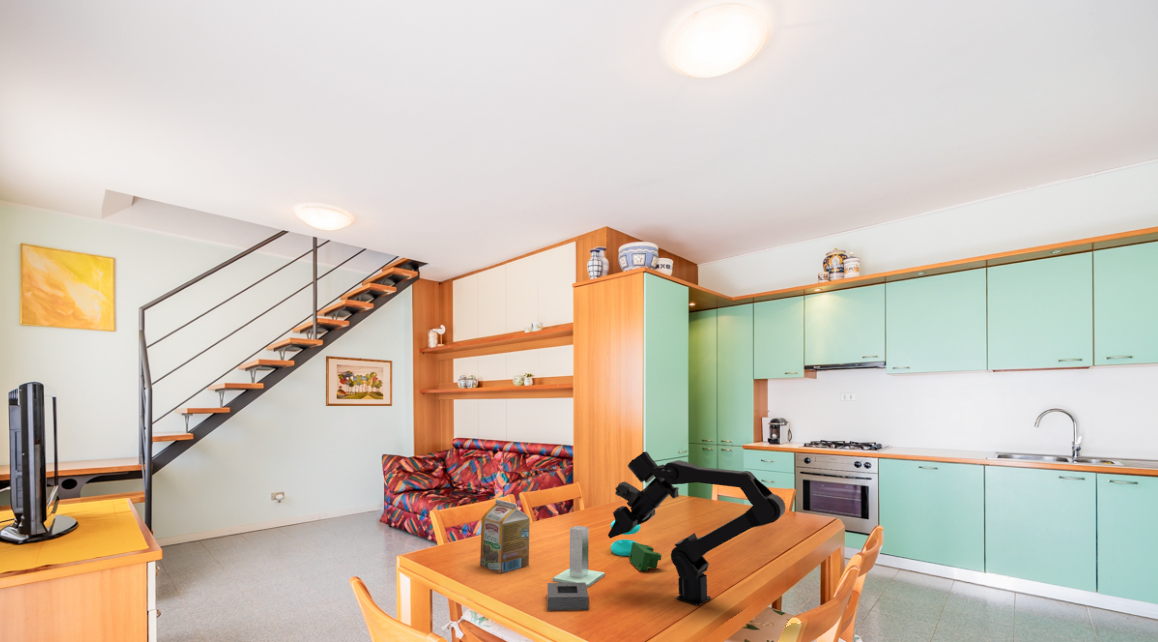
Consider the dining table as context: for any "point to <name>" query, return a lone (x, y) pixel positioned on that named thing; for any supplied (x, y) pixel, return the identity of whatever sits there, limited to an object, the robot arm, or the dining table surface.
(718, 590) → the dining table surface
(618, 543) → the donuts
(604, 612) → the dining table surface
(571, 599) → the socket block
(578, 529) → the peg
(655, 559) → the clamp
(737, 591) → the dining table surface
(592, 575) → the pad
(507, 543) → the milk carton
